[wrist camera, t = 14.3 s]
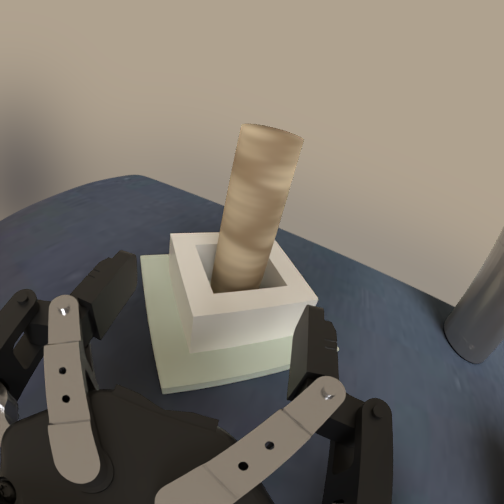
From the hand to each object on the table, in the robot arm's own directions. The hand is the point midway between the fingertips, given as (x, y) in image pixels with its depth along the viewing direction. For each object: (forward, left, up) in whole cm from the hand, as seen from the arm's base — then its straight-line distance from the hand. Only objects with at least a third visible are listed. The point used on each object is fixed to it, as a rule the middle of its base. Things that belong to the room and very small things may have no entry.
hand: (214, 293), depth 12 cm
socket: (-6, -9, -11) cm, 15 cm away
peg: (-6, -9, -10) cm, 15 cm away
